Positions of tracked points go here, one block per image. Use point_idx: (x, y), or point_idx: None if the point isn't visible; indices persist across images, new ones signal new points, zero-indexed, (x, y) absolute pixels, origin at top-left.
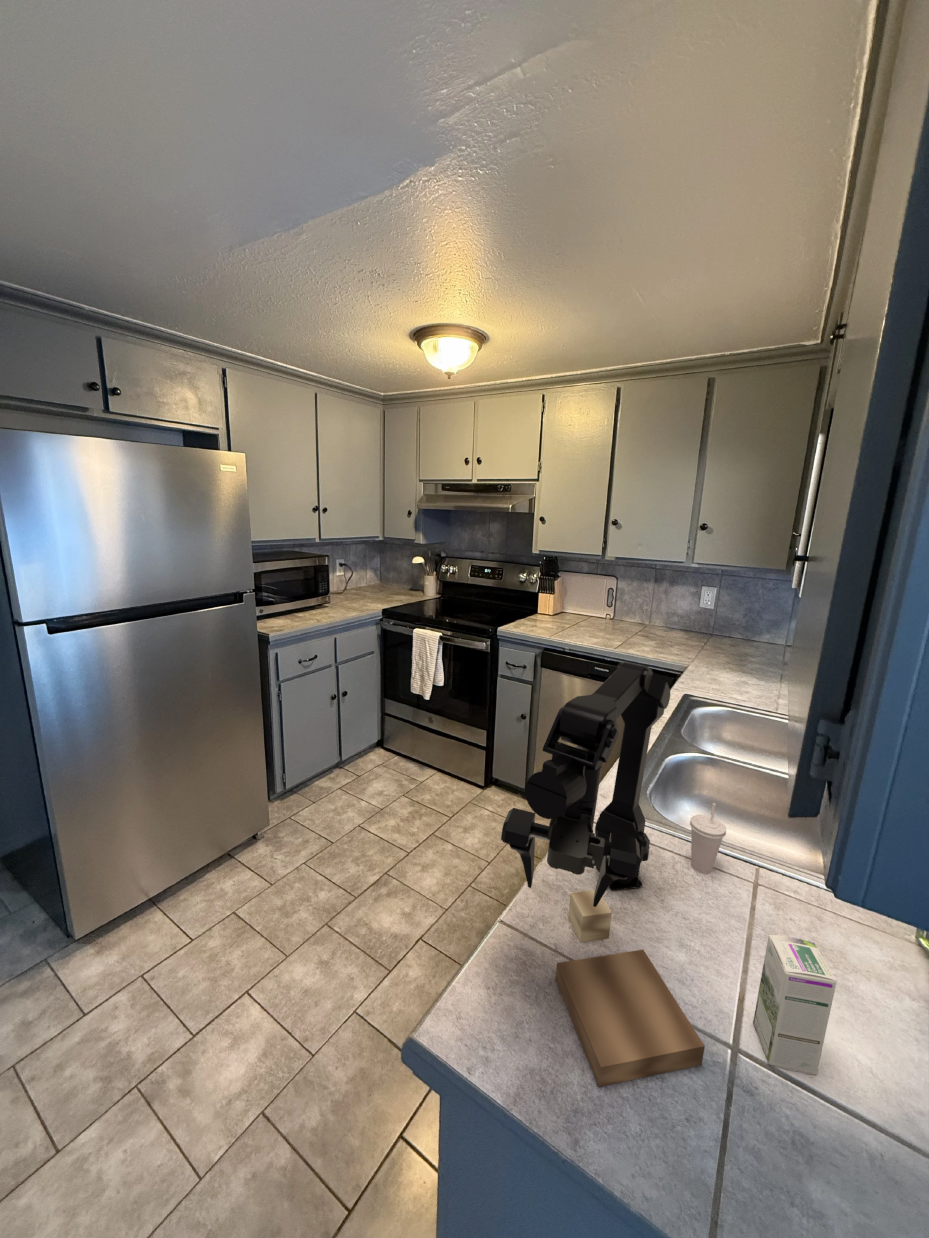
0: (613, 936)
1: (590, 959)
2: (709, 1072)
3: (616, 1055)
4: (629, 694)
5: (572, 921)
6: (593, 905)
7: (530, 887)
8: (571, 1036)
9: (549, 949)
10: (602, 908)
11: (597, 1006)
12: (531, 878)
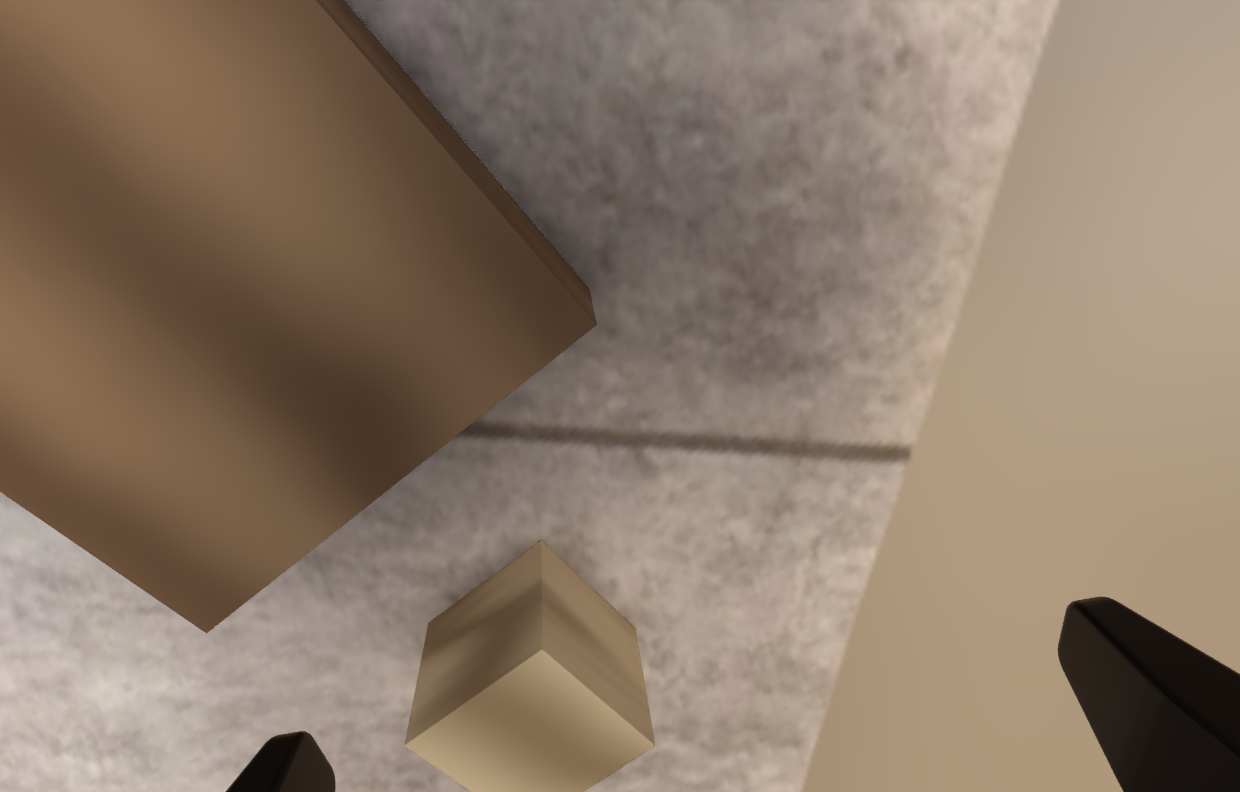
0: (412, 640)
1: (431, 441)
2: None
3: None
4: None
5: (606, 616)
6: (292, 741)
7: (1085, 603)
8: (405, 16)
9: (666, 432)
10: (459, 742)
11: (281, 168)
12: (1194, 715)
